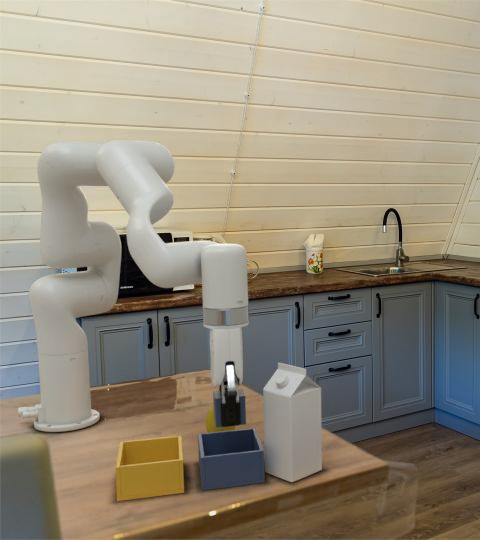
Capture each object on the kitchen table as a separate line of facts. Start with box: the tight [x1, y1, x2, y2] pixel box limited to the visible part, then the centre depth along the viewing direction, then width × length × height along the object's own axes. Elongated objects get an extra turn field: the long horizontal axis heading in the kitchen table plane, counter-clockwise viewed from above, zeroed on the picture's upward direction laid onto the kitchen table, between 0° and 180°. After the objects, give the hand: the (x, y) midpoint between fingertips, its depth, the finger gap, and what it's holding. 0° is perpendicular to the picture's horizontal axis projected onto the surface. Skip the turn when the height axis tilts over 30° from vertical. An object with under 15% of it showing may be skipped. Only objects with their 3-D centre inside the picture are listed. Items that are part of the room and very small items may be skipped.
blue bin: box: [197, 427, 266, 491], centre depth 126 cm, size 10×12×6 cm
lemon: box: [205, 405, 236, 433], centre depth 141 cm, size 6×6×8 cm
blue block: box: [212, 388, 247, 427], centre depth 125 cm, size 5×5×5 cm
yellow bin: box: [115, 435, 185, 502], centre depth 122 cm, size 10×12×6 cm
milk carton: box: [262, 362, 323, 483], centre depth 126 cm, size 7×7×19 cm
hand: (229, 419), depth 125 cm, fingers closed on blue block, 5 cm apart
